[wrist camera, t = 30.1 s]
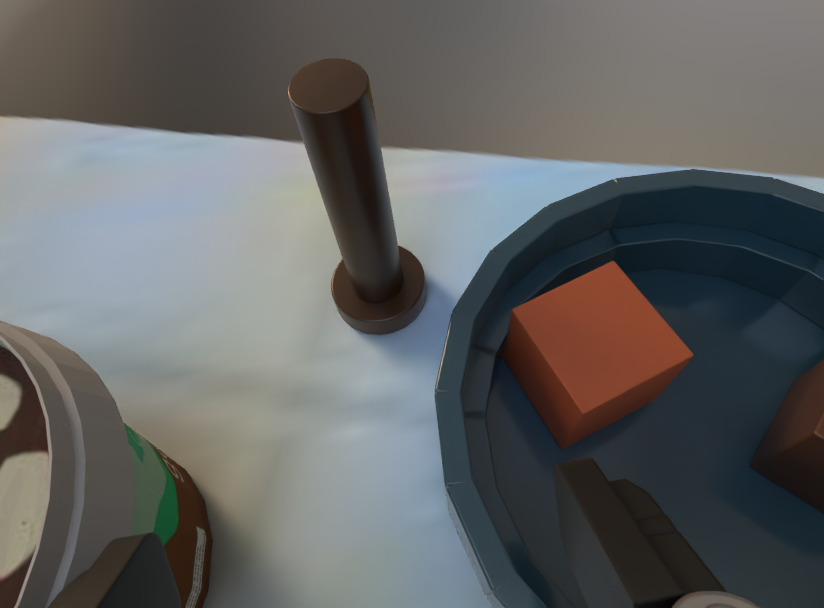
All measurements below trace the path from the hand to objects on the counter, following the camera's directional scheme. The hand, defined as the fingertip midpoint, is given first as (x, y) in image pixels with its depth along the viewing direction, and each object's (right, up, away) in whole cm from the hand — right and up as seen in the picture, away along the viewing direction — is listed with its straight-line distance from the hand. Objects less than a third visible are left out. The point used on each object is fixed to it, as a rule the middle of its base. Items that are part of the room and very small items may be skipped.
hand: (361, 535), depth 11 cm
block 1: (+7, +2, +10) cm, 12 cm away
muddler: (0, +5, +13) cm, 14 cm away
